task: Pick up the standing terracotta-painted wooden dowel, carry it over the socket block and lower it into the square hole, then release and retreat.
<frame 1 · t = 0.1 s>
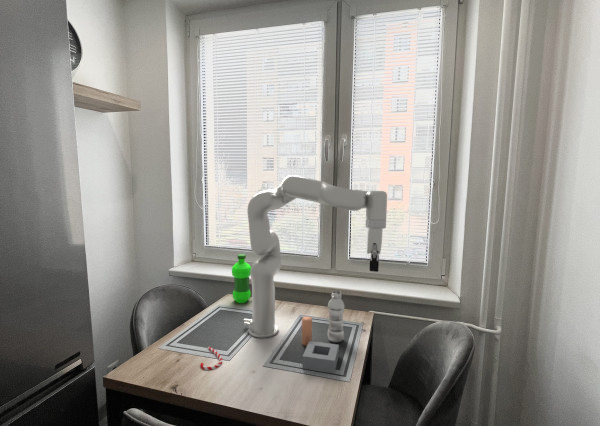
hand: (374, 267, 124), 31 cm above the table, fingers open, 9 cm apart
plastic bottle: (335, 341, 131), on the table
plastic bottle 2: (241, 301, 171), on the table
candy cane: (210, 360, 116), on the table
socket block: (321, 362, 115), on the table
peg: (306, 343, 128), on the table
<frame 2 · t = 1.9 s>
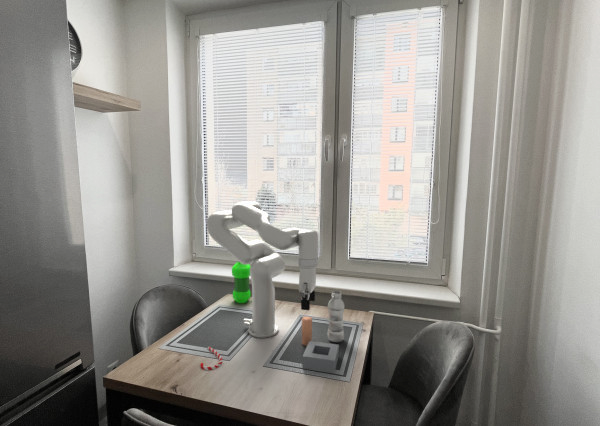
hand: (308, 305, 127), 16 cm above the table, fingers open, 9 cm apart
nothing on the table moved.
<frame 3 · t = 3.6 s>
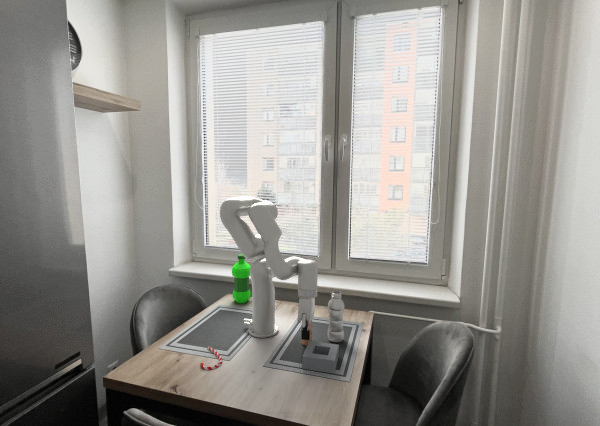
hand: (306, 336, 128), 3 cm above the table, fingers closed on peg, 4 cm apart
peg: (306, 343, 128), on the table, touching gripper
everything else where it was.
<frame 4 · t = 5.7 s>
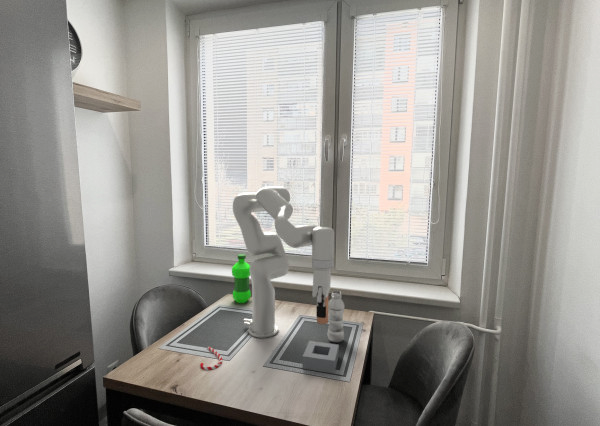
hand: (322, 314, 113), 18 cm above the table, fingers closed on peg, 4 cm apart
peg: (322, 321, 113), point 15 cm above the table, touching gripper
everything else where it was.
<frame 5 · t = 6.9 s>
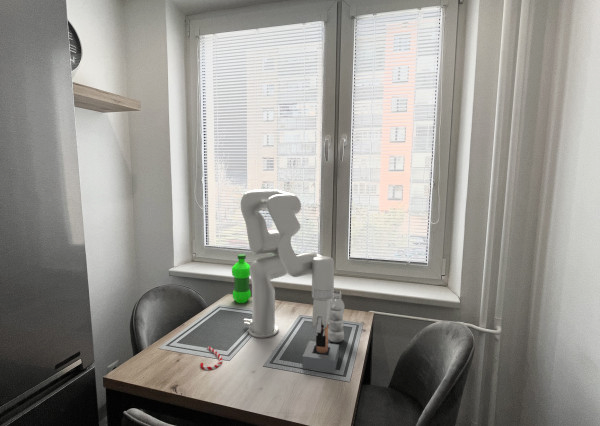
hand: (322, 342, 114), 7 cm above the table, fingers closed on peg, 4 cm apart
peg: (322, 350, 114), point 5 cm above the table, touching gripper
everything else where it was.
when the fingers open (5 cm above the table, at t = 7.6 s): peg drops 2 cm, resting in socket block.
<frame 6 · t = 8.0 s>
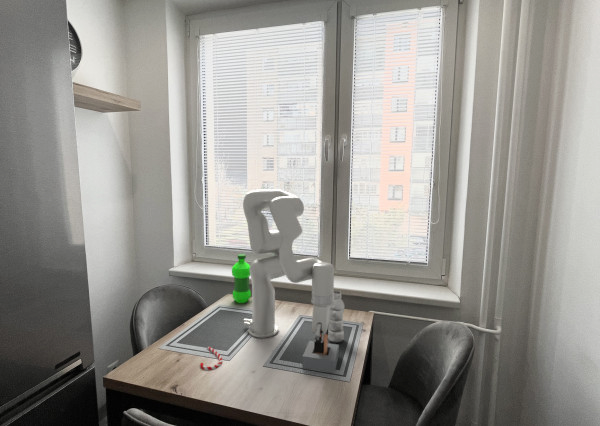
hand: (321, 345, 114), 6 cm above the table, fingers open, 8 cm apart
peg: (321, 362, 115), resting in socket block
everything else where it was.
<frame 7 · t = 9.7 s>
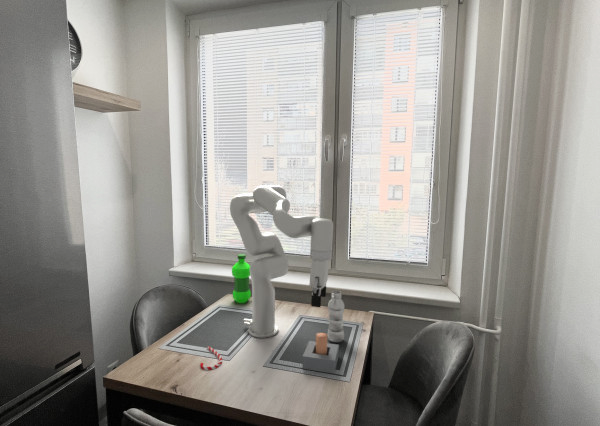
hand: (318, 301, 115), 22 cm above the table, fingers open, 9 cm apart
nothing on the table moved.
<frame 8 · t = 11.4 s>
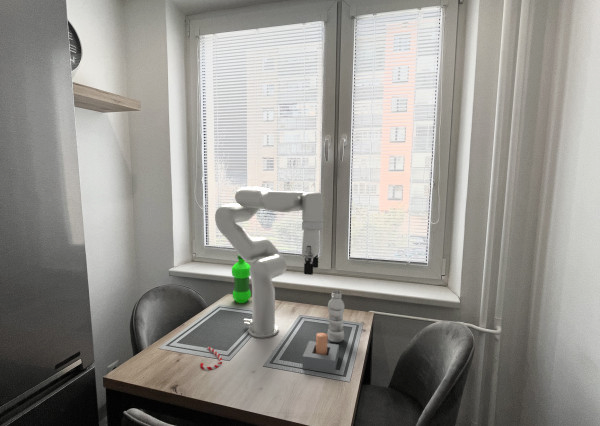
hand: (311, 270, 122), 30 cm above the table, fingers open, 9 cm apart
nothing on the table moved.
at the end: peg 0.0 cm off-centre on the socket block, point 0.0 cm above the socket block's base; peg tilted 0°; the gripper is holding nothing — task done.
